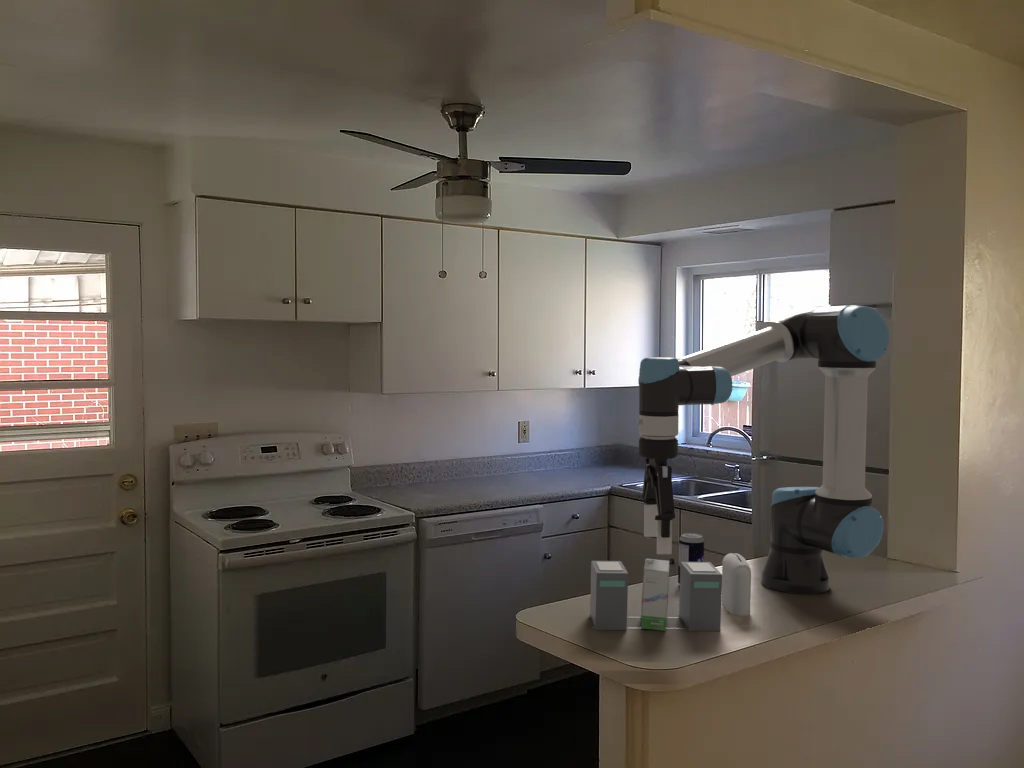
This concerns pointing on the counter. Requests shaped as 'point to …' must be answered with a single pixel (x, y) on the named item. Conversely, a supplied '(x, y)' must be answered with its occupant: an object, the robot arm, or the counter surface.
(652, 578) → the ink box
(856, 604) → the counter surface
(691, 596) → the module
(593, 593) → the module
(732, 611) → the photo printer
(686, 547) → the beverage can
